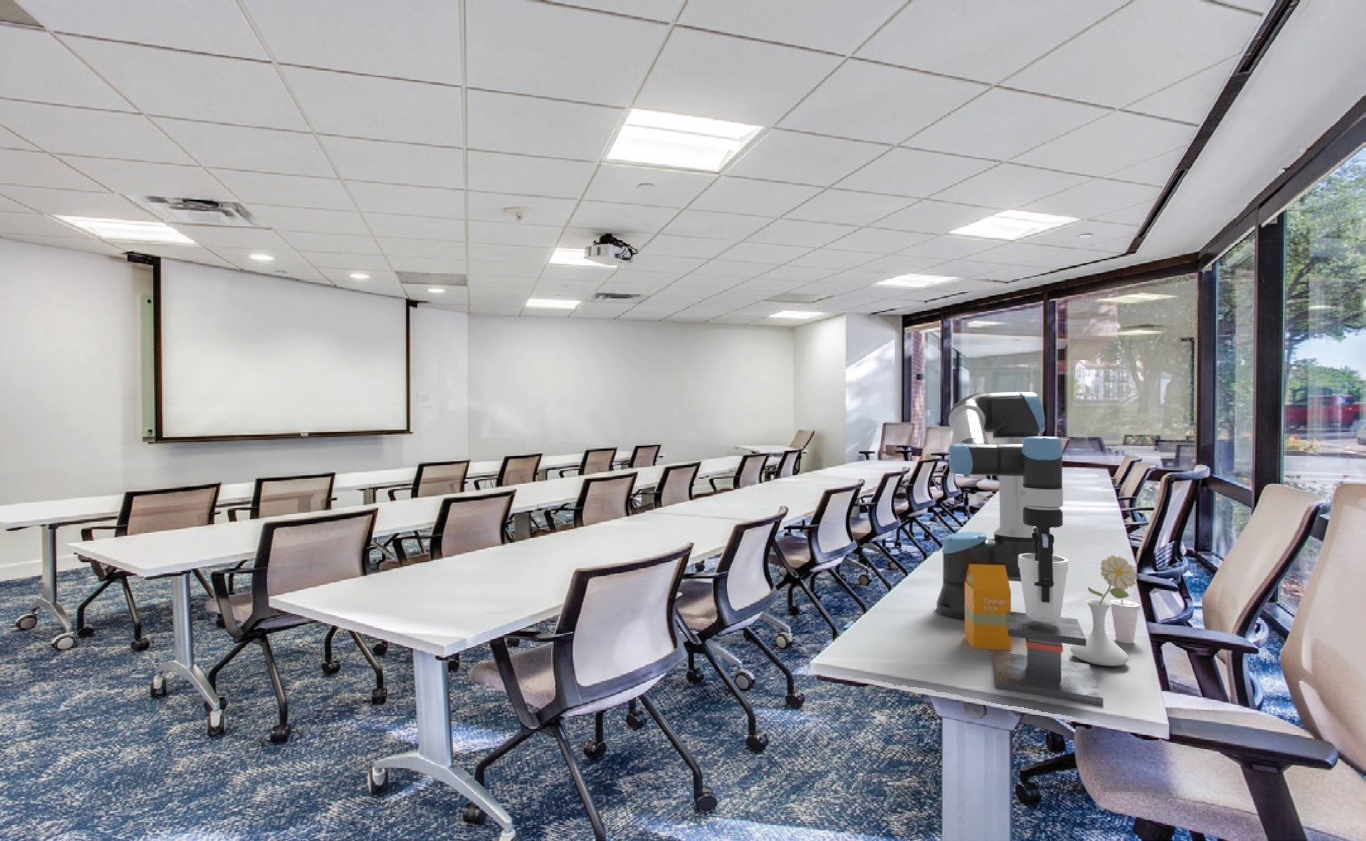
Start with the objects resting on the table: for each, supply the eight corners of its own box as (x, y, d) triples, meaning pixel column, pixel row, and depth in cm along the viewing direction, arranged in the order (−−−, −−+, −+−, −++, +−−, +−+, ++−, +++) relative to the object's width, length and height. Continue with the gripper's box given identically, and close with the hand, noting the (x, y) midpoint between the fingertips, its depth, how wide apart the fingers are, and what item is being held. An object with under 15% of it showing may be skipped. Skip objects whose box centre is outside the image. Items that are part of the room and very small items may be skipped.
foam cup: (1051, 610, 139) (1050, 552, 140) (1078, 623, 130) (1078, 562, 130) (1009, 611, 139) (1009, 553, 139) (1034, 624, 130) (1034, 562, 130)
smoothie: (1112, 634, 162) (1112, 581, 162) (1142, 640, 158) (1142, 585, 158) (1107, 640, 158) (1106, 585, 158) (1137, 647, 153) (1137, 590, 153)
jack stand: (994, 656, 147) (994, 606, 147) (1089, 670, 139) (1088, 617, 139) (995, 687, 130) (995, 630, 130) (1103, 705, 122) (1102, 644, 122)
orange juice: (1011, 649, 152) (1011, 568, 152) (973, 647, 153) (973, 567, 153) (1000, 638, 160) (1000, 561, 160) (964, 637, 161) (963, 560, 161)
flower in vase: (1076, 666, 141) (1076, 557, 141) (1065, 649, 152) (1064, 548, 152) (1145, 674, 137) (1144, 561, 137) (1128, 656, 147) (1127, 551, 147)
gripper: (1020, 500, 146) (1021, 595, 146) (1025, 512, 127) (1026, 622, 126) (1057, 502, 143) (1058, 599, 143) (1068, 515, 123) (1069, 627, 123)
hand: (1043, 610), depth 135 cm, fingers closed on foam cup, 9 cm apart
